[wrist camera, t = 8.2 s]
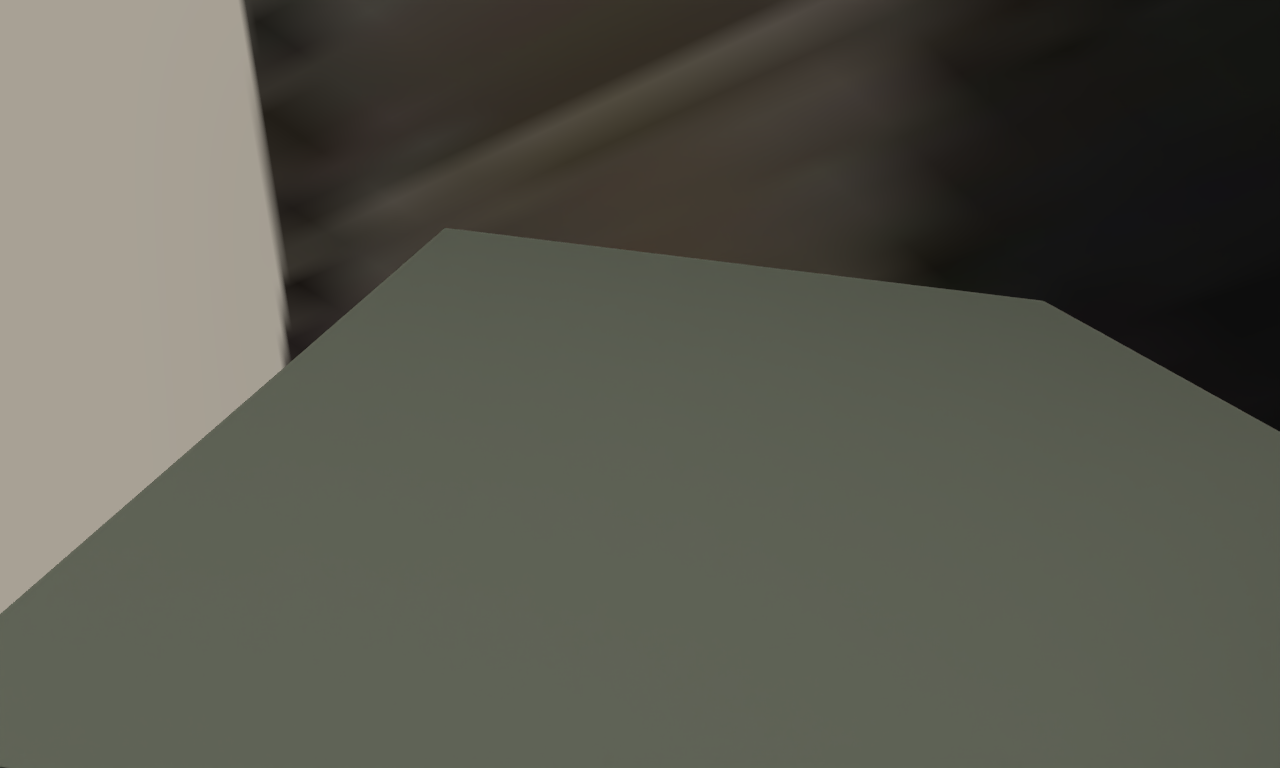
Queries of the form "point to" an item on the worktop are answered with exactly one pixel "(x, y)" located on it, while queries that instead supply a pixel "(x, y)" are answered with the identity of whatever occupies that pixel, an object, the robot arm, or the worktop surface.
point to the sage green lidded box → (676, 541)
